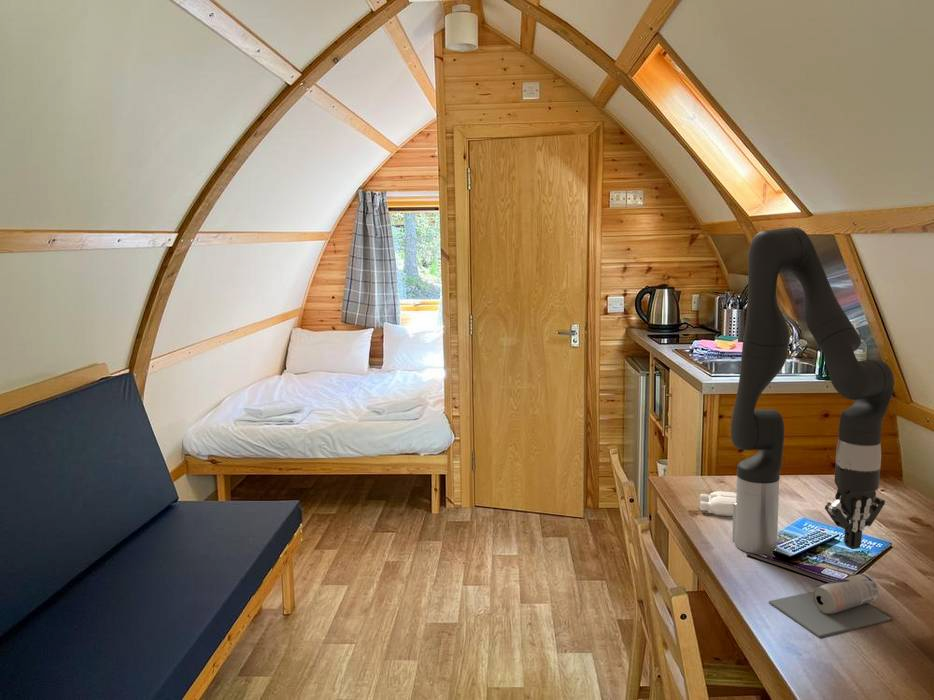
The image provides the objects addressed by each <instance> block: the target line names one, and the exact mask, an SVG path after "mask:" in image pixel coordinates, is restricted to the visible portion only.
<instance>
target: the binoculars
mask: <svg viewBox="0 0 934 700" xmlns="http://www.w3.org/2000/svg"><path fill="white" fill-rule="evenodd" d="M699 497H700V500H699V502H700V511H708V512H710V513H712V514H713V515H716V516H722V517H724V516H725V517H732V518H733V504H734V503H735V502H736V492H730V491H713V492H711V493H710V494H708V493H700V496H699Z"/></svg>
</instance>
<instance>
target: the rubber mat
mask: <svg viewBox="0 0 934 700" xmlns="http://www.w3.org/2000/svg"><path fill="white" fill-rule="evenodd" d="M768 604H769V605H771V606H773V607H774V608H775V609H777V610H778V611H780V612H781V613H783V614H784V615H785V616H787V617H788V618H790V619H791V620H793V621H794V622H795V623H797V624H798V625H800V626H801V627H803V628H804V629H806V630H807V631H808V632H810V633H811V634H813V635H815V636H816V637H817V638H823V637H827V636H830V635H831V636H832V635H835V634H839V633H843V632H847V631H852V630H855V629H859V628H863V627H868V626H873V625H876V624H880V623H881V624H882V623H884V622H889V621H891V620H892V618H891V617H890V616H888V615H887V614H885V613H883V612H882V611H879V610H878V609H876V608H874V607H873V606H871V605H869V604H868V603H866V604H862V605H859V606H856V607H853V608H850V609H846V610H843V611H840V612H837V613H833V614H826V613H823V612H822V611H820V610H819V609H818V608H817V606H816V605H815V603H814V601H813V591H809V592H805V593H800V594H795V595H790V596H787V597H782V598H778V599H777V598H776V599H773V600H769V601H768Z"/></svg>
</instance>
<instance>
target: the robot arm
mask: <svg viewBox="0 0 934 700" xmlns="http://www.w3.org/2000/svg"><path fill="white" fill-rule="evenodd" d="M748 251H749V252H748V263H747V264H748V266H747V269H748V275H747V277H748V279H747V282H748V283H747V284H748V287H747V288H748V289H747V292H748V293H747V303H746V315H745V325H744V332H743V339H742V347H741V361H740V372H739V380H738V387H737V390H736V391H737V392H736V396H735V400H734V406H733V410H732V415H731V421H730V437H731V443H732V444H733V446H734V447H735V448H736V449H737V450H744V451H750V450H752V451H757V453H755V454H754V455H752V456H750V457H748V458H745V459H743V460H741V461H739V462H738V464H737V466H736V489H735V490H736V492H735V493H736V502H735V503H734V504H733V517H732V538H731V539H732V541H734V545H735V546H736V548H738V549H739V550H741V551H744V552H746V553H749V554H756V555H768V554H773V553H774V552H773V551H774V550H775V549H776V548H777V549H778V531H779V530H778V527H779V526H778V524H779V505H780V504H779V503H780V502H779V501H780V499H779V498H780V496H779V495H780V473H781V470H782V465H783V455H784V454H783V452H784V444H785V434H786V433H785V422H784V419H783V416H782V414H781V413H780V412H779V411H778V410H777V409H770V408H769V409H756V406H757V404H758V400H759V398H760V396H761V395H762V393H763V392H764V390H765V389H766V388H767V387H768V386H769V384H771V382H772V381H773V380H774V379H775V378H776V376H777V375H778V374H779V373H780V371H781V370H783V367H784V366H785V364H786V361H787V358H788V350H789V344H790V329H789V326H788V323H787V321H786V318H785V317H784V314H783V312H782V310H781V308H780V306H779V304H778V300H777V286H778V285H777V283H778V277H779V274H781V273H789V272H790V273H792V274H793V275H794V276H795V277H796V279H797V280H798V282H799V283H800V284H801V287H802V290H803V295H804V318H805V323H806V326H807V328H808V329H809V332H810V334H811V335H812V337H813V339H814V340H815V341H816V344H817V345H818V346H819V348H820V350H821V351H822V353H823V356H824V363H825V364H826V365H825V366H826V369H827V371H828V376H829V379H830V382H831V384H832V386H833V388H834V389H835V390H836V392H837V393H838V394H839V395H841V396H842V397H844V398H845V399H848V400H850V401H851V400H854V401H853V404H852V405H851V406H850V407H848V408H846V409H844V410H842V412H841V413H840V417H839V426H838V441H837V445H836V451H835V453H836V454H835V467H834V468H835V469H834V483H835V485H836V488H837V491H836V494H835V496H834V501H833V502H832V503H831V504H829V503H828V504H827V503H826V505H825V506H824V509H825V511H826V513H827V514H828V515H829V517H830V519H831V520H832V521H833V523H834V524H835V525H836V527H839V528H841V529H844V535H843V536H844V537H843V538H844V539H843V542H844V545H845V546H846V547H847V548H848V549H851V550H856V549H860V548H861V544H862V540H863V539H862V537H863V531H864V530H865V528H866V527H871V526H872V524H873V523H874V521H875V520H876V519H877V516H878V515H879V514H880V512H881V510H882V509H883V508H884V506H885V505H886V502H885V501H886V500H884V499H882V498H879V497H878V496H877V491H878V489H879V488H880V480H881V477H880V476H881V466H882V463H881V462H882V447H881V442H882V429H883V425H882V424H883V420H884V417H885V415H886V412H887V410H888V407H889V404H890V402H891V399H892V396H893V392H894V387H895V379H894V377H895V376H894V374H893V371H892V369H891V367H890V366H889V364H887V363H886V362H885V361H883V360H881V359H875V358H874V359H866V360H865V359H864V360H858V359H857V357H856V354H855V352H856V351H857V350H858V349H859V348H860V346H861V344H862V339H861V336H860V334H859V333H858V331H857V330H856V328H855V327H854V325H853V323H852V322H851V320H850V319H849V318H848V315H847V314H846V313H845V311H844V310H843V308H842V306H841V305H840V303H839V301H838V300H837V298H836V295H835V293H834V290H833V288H832V287H831V284H830V281H829V279H828V276H827V274H826V272H825V269H824V267H823V265H822V262H821V260H820V257H819V255H818V252H817V251H816V248H815V246H814V244H813V241H812V240H811V238H810V237H809V235H808V234H807V232H805V230H803V229H801V228H800V227H793V226H791V227H783V228H773V229H766V230H761V231H759V232H757V233H756V235H754V236H753V238H752V240H751V243H750V246H749V250H748ZM777 549H776V550H777Z"/></svg>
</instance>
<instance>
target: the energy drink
mask: <svg viewBox="0 0 934 700" xmlns="http://www.w3.org/2000/svg"><path fill="white" fill-rule="evenodd" d="M812 592H813V601H814V603H815V605H816V606H817V608H818V609H819V610H820V611H822V612H823V613H826V614H833V613H837V612H840V611H843V610H846V609H850V608H853V607H856V606H859V605H862V604H868V603H869V604H870V603H871V602H874V601H876V600H877V599H878V597H879V587H878V584H877V582H876V581H875V580H874V578H872V577H871V576H869V575H868V574H865V573H858V574H855V575H851V576H848V577H845V578H840V579H838V580H833V581H830V582H826V583H824V584H820V585H818V586H817V587H815V588H814V589H813V591H812Z"/></svg>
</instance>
